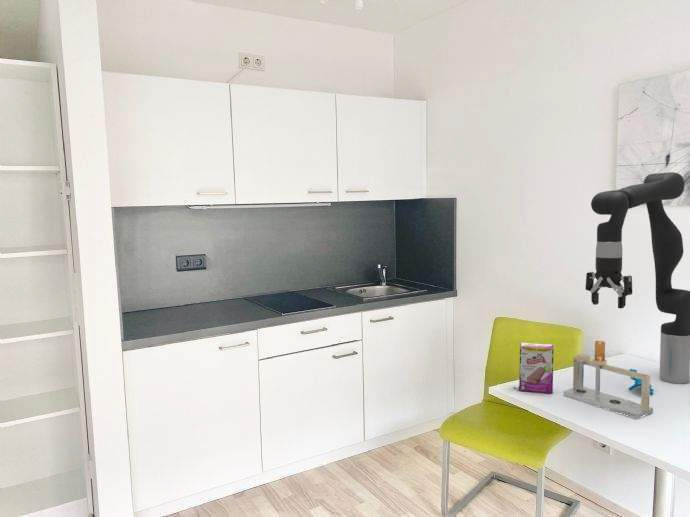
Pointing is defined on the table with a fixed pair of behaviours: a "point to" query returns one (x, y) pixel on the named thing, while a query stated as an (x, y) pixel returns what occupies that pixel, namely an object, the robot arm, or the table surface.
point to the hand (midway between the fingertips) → (607, 306)
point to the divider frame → (606, 399)
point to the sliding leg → (599, 362)
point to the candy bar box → (536, 367)
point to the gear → (638, 383)
